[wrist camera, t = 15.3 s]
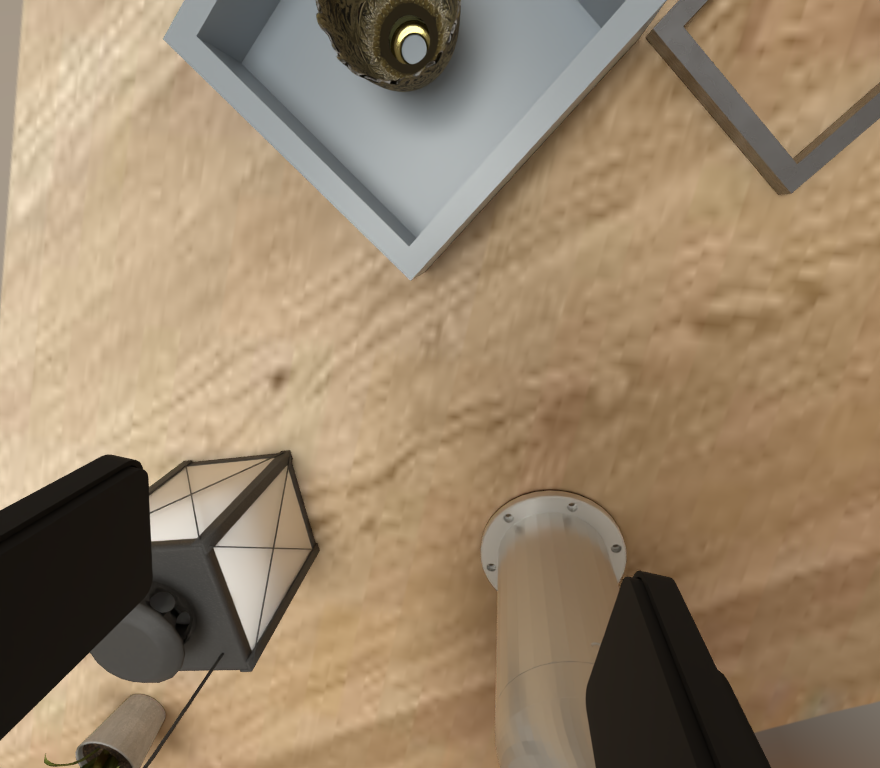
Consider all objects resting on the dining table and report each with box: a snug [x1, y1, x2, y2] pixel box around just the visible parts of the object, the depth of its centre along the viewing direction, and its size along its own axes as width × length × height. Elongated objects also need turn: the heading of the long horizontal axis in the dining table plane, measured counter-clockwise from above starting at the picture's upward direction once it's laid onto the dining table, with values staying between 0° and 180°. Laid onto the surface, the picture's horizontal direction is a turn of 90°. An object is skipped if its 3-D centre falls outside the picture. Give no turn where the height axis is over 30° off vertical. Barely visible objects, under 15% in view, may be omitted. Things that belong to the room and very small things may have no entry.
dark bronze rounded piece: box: [315, 0, 461, 92], centre depth 27 cm, size 8×7×8 cm
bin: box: [163, 0, 667, 281], centre depth 29 cm, size 20×20×6 cm
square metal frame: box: [646, 0, 880, 195], centre depth 28 cm, size 13×13×2 cm
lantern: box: [90, 450, 320, 768], centre depth 32 cm, size 11×11×28 cm
